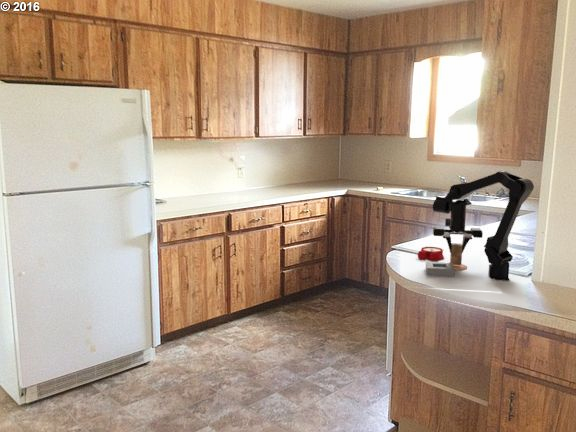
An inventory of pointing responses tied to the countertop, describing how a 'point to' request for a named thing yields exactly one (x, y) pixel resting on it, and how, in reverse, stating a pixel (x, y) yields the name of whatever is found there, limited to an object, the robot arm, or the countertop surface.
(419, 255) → the alarm clock
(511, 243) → the countertop surface
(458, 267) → the terracotta plate
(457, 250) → the walnut block
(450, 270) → the pocket holder
